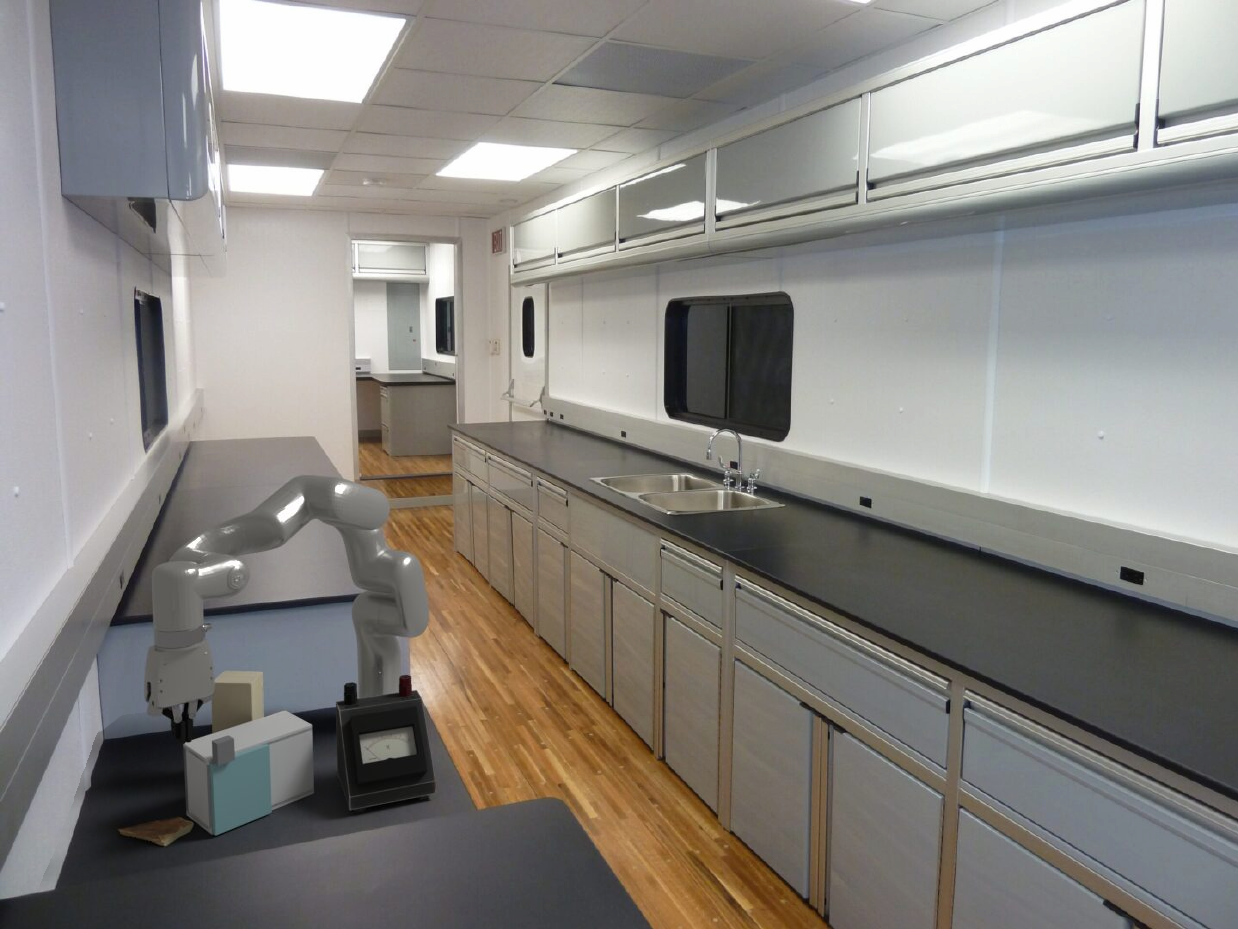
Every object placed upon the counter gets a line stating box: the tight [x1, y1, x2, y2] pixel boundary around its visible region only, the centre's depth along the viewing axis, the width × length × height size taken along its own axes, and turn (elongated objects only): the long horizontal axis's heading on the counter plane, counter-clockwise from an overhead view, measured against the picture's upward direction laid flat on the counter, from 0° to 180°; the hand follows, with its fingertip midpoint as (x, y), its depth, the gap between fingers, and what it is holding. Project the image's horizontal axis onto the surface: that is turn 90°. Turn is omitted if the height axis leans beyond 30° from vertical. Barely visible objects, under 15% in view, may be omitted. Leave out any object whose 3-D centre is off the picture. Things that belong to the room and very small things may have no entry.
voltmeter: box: [335, 674, 437, 813], centre depth 174 cm, size 16×16×20 cm
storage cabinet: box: [182, 710, 315, 835], centre depth 167 cm, size 20×10×14 cm, turn 140°
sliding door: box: [210, 735, 273, 836], centre depth 160 cm, size 10×2×17 cm, turn 140°
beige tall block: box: [211, 670, 265, 734], centre depth 178 cm, size 8×7×21 cm
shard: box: [117, 816, 194, 847], centre depth 159 cm, size 11×8×2 cm
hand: (182, 741), depth 150 cm, fingers closed
